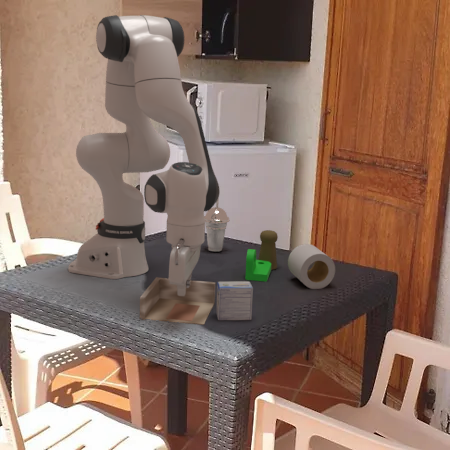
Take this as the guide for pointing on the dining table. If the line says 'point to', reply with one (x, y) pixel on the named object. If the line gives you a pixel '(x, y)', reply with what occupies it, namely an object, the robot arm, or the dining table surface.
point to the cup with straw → (216, 227)
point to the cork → (268, 247)
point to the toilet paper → (318, 273)
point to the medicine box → (234, 300)
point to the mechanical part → (256, 267)
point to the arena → (177, 302)
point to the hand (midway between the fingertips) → (184, 290)
